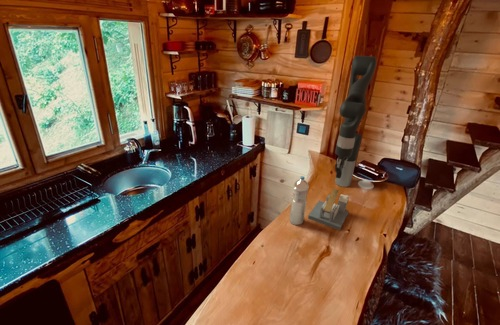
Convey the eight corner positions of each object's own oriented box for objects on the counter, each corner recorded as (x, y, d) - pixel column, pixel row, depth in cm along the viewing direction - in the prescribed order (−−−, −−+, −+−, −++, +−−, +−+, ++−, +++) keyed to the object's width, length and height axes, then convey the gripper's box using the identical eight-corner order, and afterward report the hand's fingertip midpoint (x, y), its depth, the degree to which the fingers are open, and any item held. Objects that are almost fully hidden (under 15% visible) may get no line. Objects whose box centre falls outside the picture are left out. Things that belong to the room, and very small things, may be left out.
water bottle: (292, 215, 140) (298, 172, 129) (305, 220, 136) (312, 176, 125) (287, 222, 134) (292, 178, 123) (300, 227, 131) (307, 182, 120)
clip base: (318, 203, 150) (320, 191, 147) (348, 213, 143) (351, 200, 139) (307, 218, 138) (310, 205, 134) (339, 230, 130) (342, 216, 127)
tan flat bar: (332, 189, 140) (332, 188, 139) (338, 191, 138) (338, 190, 138) (323, 211, 134) (323, 210, 133) (329, 213, 132) (329, 212, 131)
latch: (340, 198, 141) (341, 193, 140) (347, 200, 140) (349, 195, 138) (338, 200, 139) (339, 195, 138) (346, 203, 137) (347, 198, 136)
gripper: (340, 139, 134) (334, 170, 142) (333, 147, 124) (326, 180, 132) (356, 142, 131) (349, 174, 139) (349, 151, 121) (342, 185, 128)
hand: (338, 177), depth 135 cm, fingers closed
